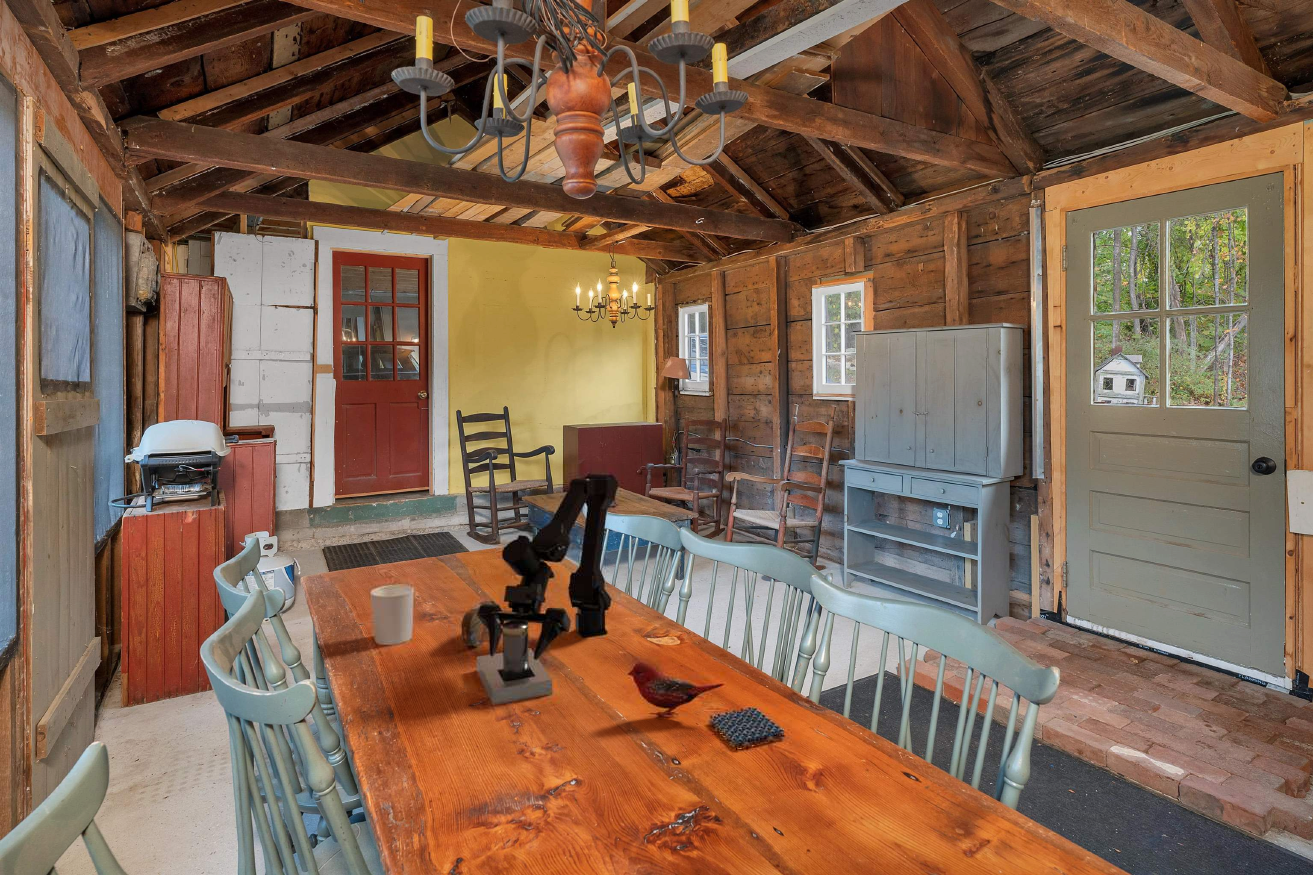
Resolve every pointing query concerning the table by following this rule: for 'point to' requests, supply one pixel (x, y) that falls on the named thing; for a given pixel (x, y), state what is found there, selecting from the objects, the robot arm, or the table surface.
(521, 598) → the robot arm
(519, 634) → the end plug
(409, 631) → the white paper cup
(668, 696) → the decorative bird figurine
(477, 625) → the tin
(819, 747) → the table surface
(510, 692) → the housing block
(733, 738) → the woven mat
